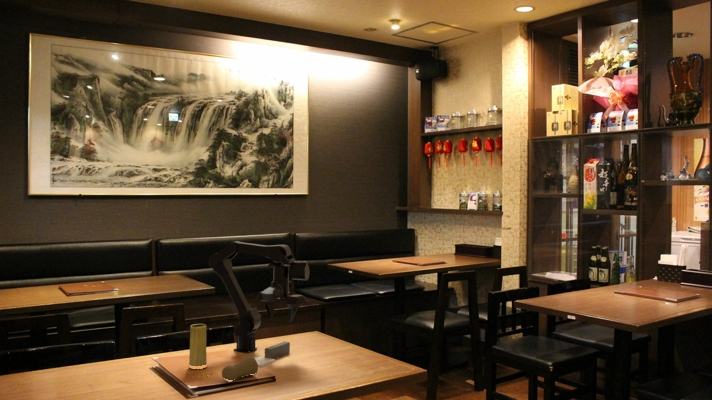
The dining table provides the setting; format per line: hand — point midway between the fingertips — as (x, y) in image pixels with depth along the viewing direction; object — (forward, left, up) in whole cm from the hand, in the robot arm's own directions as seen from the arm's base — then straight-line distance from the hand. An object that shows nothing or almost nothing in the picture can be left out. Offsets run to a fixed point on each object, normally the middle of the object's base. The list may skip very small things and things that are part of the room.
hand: (280, 320), depth 221 cm
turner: (+2, -7, -12) cm, 14 cm away
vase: (-12, -30, -12) cm, 34 cm away
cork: (+8, -27, -9) cm, 29 cm away
